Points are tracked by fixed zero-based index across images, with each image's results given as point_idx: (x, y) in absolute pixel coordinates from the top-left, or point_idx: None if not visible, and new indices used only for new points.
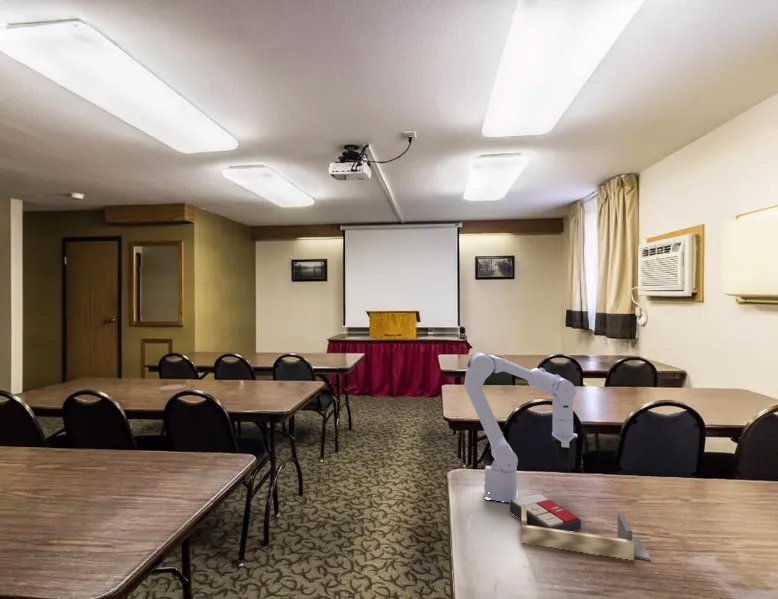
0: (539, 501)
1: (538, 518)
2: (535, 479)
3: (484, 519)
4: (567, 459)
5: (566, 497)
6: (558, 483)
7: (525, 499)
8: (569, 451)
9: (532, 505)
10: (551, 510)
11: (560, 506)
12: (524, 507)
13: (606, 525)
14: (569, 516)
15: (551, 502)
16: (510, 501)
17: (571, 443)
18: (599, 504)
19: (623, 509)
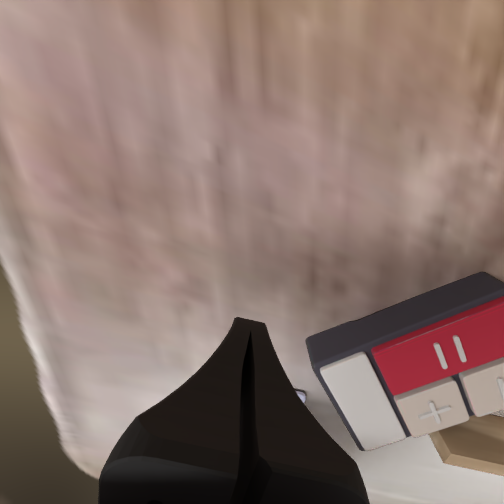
0: (379, 385)
1: (485, 411)
2: (88, 292)
3: (383, 469)
4: (272, 352)
5: (238, 232)
6: (104, 218)
7: (364, 419)
8: (304, 412)
9: (411, 413)
10: (451, 370)
11: (428, 334)
12: (469, 461)
13: (479, 168)
14: (502, 327)
15: (395, 354)
16: (365, 450)
17: (320, 499)
18: (298, 115)
19: (351, 7)
